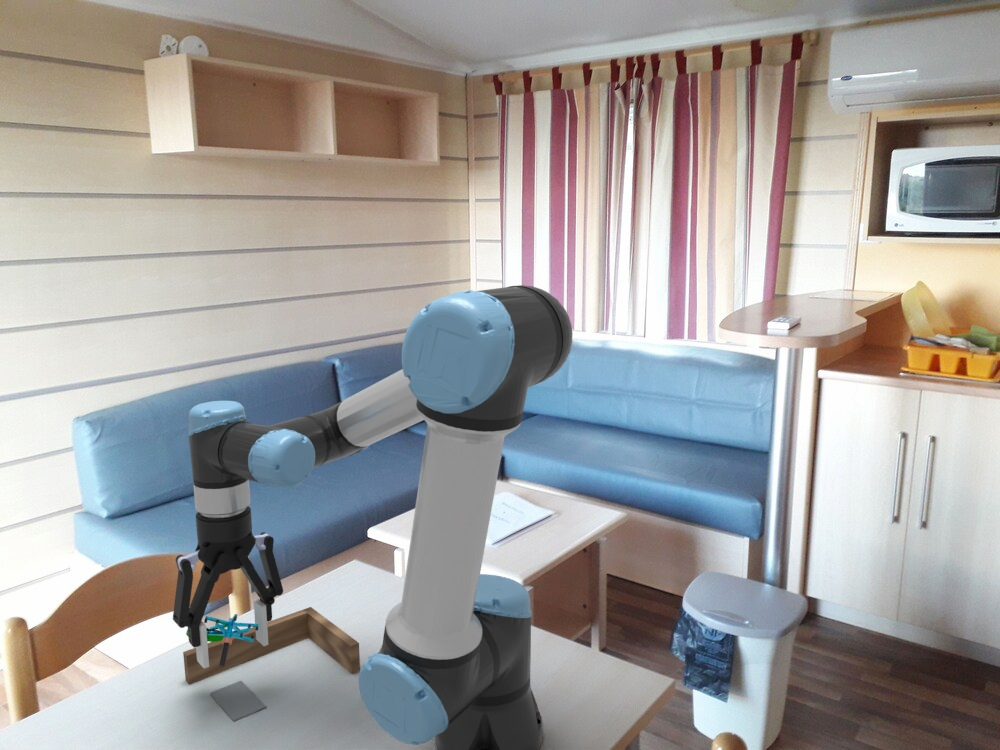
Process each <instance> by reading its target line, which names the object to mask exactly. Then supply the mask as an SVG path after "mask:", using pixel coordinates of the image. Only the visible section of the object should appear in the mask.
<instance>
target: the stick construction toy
mask: <svg viewBox="0 0 1000 750" xmlns="http://www.w3.org/2000/svg"><path fill="white" fill-rule="evenodd" d="M204 617H205V618H204V622H203V623H204V624H207V623H208V621H211V622H215V623H214V624H215V625H214V626H211V627H206V631H207V643H210V642H218V641H222V644H223V650H222V655H221V659H220V664H219V667H225V663H226V658H227V653H228V648H229V645H231V644H232V637H233V638H238V639H242V640H246V641H250V642H253V640H254V635H252V636H251V638H248V637H245V636H243V633H244V632H248V631H250V628H252V627H256V628H255V630H256V631H258V627H259V624H255V623H250V622H249V623H248V622H236V621H237V618H238V614H237V613H235V614H234V615H233V616H232V617H230V618H229V619H228V620H224V619H220V618H216V617H214V616H213V617H212V616H209V615H206V616H204ZM239 627H242V628H243V629H242V628H239ZM244 627H245V628H244ZM185 634H186V637H188V628H187V629H186V632H185ZM238 634H240V635H238Z"/></svg>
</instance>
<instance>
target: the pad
mask: <svg viewBox="0 0 1000 750" xmlns="http://www.w3.org/2000/svg"><path fill="white" fill-rule="evenodd" d="M209 695H210V696H211V697H212V698H213V700H214V701H215V702H216V703H217V704H218V705H219V706H220V707H221V709H222V710H223V711H224V712H225V713H226V715H228V717H229V718H230V719H231V720H232V721H233V722H235V721H238V720H241V719H243V718H245V717H247V716H250V715H253V714H255V713H257V712H260V711H262V710H264V709H267V706H266V704H265V703H264V702H263V701H262V700H261V699H260V698H259V697H258V696H257V695H256V694H255V693H254V692H253V691H252V690H251V689H250V687H248V685H246V684H245V683H244V682H243V681H242V680H239V681H236V682H234V683H231V684H229V685H226V686H223V687H222V688H219V689H216V690H213V691H211V692H209Z"/></svg>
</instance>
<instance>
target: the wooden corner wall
mask: <svg viewBox="0 0 1000 750" xmlns="http://www.w3.org/2000/svg"><path fill="white" fill-rule="evenodd" d="M267 629H268V645H266V646H263V645H262V644H261V643H260V642H258V641H257V640H256V630H255V627H251V628H250V631H248V632H244V633H243V636H245V637H248V638H251V636H252V635H254V640H253V642H250V641H246V640H242V639H238V638H233V637H232V644H231V645H229V648H228V653H227V658H226V663H225V667H219V664H220V659H221V655H222V650H223V644H222V641H218V642H207V644H208V657H209V667H207V668H205V669H204V668H203V667H202V666H201V665H200V664H199V662H198V661H197V654H196V647H195V648H194V647H193V648H190V649H188V650H185V651H183V653H182V655H183V665H184V677H185V682H186V683H187V684H188V685H189V686H190V685H192V684H196V683H198V682H201V681H203V680H205V679H208V678H211V677H213V676H215V675H218V674H221V673H224V672H226V671H227V670H228V671H229V670H231V669H233V668H236V667H238V666H240V665H243V664H246V663H249V662H251V661H253V660H256V659H258V658H261V657H263V656H266V655H268V654H271V653H274V652H277V651H278V650H279V651H280V650H281V649H284V648H286V647H289V646H291V645H294V644H297V643H299V642H301V641H304V640H307V639H309V640H310V641H311V642H313V643H314V644H315V645H316V646H317V647H318V648H320V649H321V650H322V651H324V652H325V653H326V654H327V655H328V656H329V657H331V658H332V660H334V661H335V662H336V663H338V664H339V665H340V666H341V667H342V668H344V669H345V670H346V671H348V672H349V673H350V674H351V675H355V674H356V673H358V672H360V670H361V662H360V661H361V657H360V642H358V640H356V639H354V638H353V637H351V636H350V635H349V634H347V632H345V630H344V631H343V630H342V629H341V628H340V627H338V626H337V624H334V623H333V622H331V620H329V619H328V618H326V617H325V616H324V615H322V614H321V613H320V612H318V611H317V610H316V609H314V608H313V607H312V606H310V607H309V606H308V607H305V608H303V609H301V610H298V611H295V612H293V613H292V612H291V613H289V614H286V615H284V616H281V617H279V618H275V619H273V620H271V621H269V622H267ZM238 635H240V634H238Z"/></svg>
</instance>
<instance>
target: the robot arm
mask: <svg viewBox="0 0 1000 750" xmlns="http://www.w3.org/2000/svg"><path fill="white" fill-rule="evenodd" d="M569 316H570V315H569V314H568V312H567V310H566V308H565V307H564V306H563V304H562V303H561V302H560V301H559V300H558V298H556V297H555V296H553V295H552V294H551V293H549V292H548V291H546V290H544V289H542V288H539V287H536V286H532V285H524V284H522V285H511V286H505V287H499V288H490V289H489V288H488V289H482V290H472V289H469V290H463V291H462V290H461V291H457V292H454V293H451V294H448V295H447V296H443V297H440V298H437V299H435V300H433V301H431V302H429V303H428V304H427V305H425V306H424V307H423V308H422V309H420V311H418V313H417V314H416V315H415V316H414V317H413V319H412V320H411V322H410V323H409V326H408V327H407V330H406V332H405V334H404V338H403V342H402V346H401V367H402V369H400V370H398V371H396V372H394V373H392V374H391V375H389V376H386V377H385V378H383V379H381V380H379V381H377V382H375V383H374V384H372V385H370V386H368V387H366V388H364V389H362V390H361V391H358V392H357V393H355V394H353V395H350V396H349V397H347V398H345V399H344V400H342V401H340V402H338V403H336V404H334V405H331V406H330V407H328V408H326V409H323V410H320V411H317V412H313V413H311V414H308V415H303V416H300V417H295V418H293V419H288V420H285V421H281V422H278V423H275V424H271V425H269V424H268V425H263V424H255V423H252V422H249V421H246V420H247V416H246V413H245V411H246V410H245V407H244V406H243V405H242V404H241V403H240V402H238V401H234V400H214V401H213V400H212V401H207V402H206V401H205V402H202V403H198V404H197V405H194V406H193V407H192V408H191V409H190V410H189V413H188V434H187V437H188V440H189V441H188V442H189V451H190V462H191V463H190V464H191V473H192V480H193V481H192V483H193V496H194V497H193V498H194V506H195V511H196V514H195V525H196V537H197V545H196V548H195V550H194V551H193V552H192V553H189V554H187V555H182V554H179V555H177V556H176V558H175V563H176V564H175V565H176V567H177V570H178V572H177V580H176V581H177V582H176V589H175V596H174V597H175V598H174V605H173V613H172V621H173V622H174V623H175V624H176V625H177V626H178V627H179V628H181V629H184V628H186V627H187V629H188V636H187V637H188V643H189V644H190V645H191V647H193V648H196V654H197V661H198V662H199V664H200V665H201V666H202V667H203V668H204V669H205V668H207V667H209V657H208V644H207V643H208V642H207V631H206V628H207V625H206V623H204V622H203V618H204V614H205V612H206V609H207V607H208V604H209V601H210V598H211V595H212V593H213V590H214V587H215V585H216V583H217V582H218V581H219V579H220V576H221V575H222V574H226V573H227V572H230V571H235V570H236V571H237V570H239V569H240V570H241V571H242V573H243V574H244V576H245V578H246V580H247V581H248V582H249V584H250V586H251V587H252V589H253V590H254V591H255V594H256V595H257V596H258V598H256V599H253V614H254V624H259V627H258V631H256V640H257V641H258V642H260V643H261V644H262V645H263V646H266V645H268V629H267V622H269V621H272V619H273V610H272V609H273V607H272V605H274V604H275V601H276V600H275V597H277V596H282V595H283V593H284V588H283V585H282V581H281V576H280V573H279V569H278V566H277V562H276V558H275V554H274V551H273V549H274V543H275V541H274V540H275V539H274V537H273V536H271V535H270V534H268V533H266V532H265V531H263V532H261V533H260V534H259V535H254V534H253V525H252V524H253V522H252V509H251V507H250V506H249V505H251V491H250V481H253V482H256V483H258V484H261V485H265V486H267V487H272V488H281V489H282V488H283V489H291V488H293V489H294V488H295V487H299V486H301V485H302V484H303V483H304V481H305V479H307V478H308V477H309V476H310V475H311V474H312V471H313V469H316V468H317V467H320V466H322V465H326V464H329V463H331V462H335V461H337V460H340V459H344V458H346V457H351V456H354V455H356V454H359V453H361V452H362V451H364V450H367V449H368V448H369V447H370V446H371V445H373V444H375V443H377V442H379V441H381V440H384V439H385V438H387V437H389V436H392V435H395V434H396V433H399V432H401V431H403V430H405V429H407V428H410V427H412V426H413V425H416V424H419V423H420V422H422V421H424V422H426V424H427V426H426V430H425V432H426V433H425V437H424V438H425V440H424V445H423V452H422V459H421V466H420V473H419V480H418V487H417V495H416V500H415V505H414V506H415V508H414V514H413V522H412V528H411V535H410V541H409V542H410V543H409V549H408V555H407V563H406V569H405V576H404V583H403V591H402V595H401V596H402V597H401V602H399V603H397V604H396V605H394V606H393V607H392V608H391V609H390V610H389V612H388V614H387V616H386V619H385V624H384V631H383V638H382V639H383V640H382V645H381V647H380V649H379V651H378V652H377V653H373V654H371V655H370V656H368V658H367V660H366V661H364V663H363V664H362V665H361V666H360V671H359V673H358V688H359V693H360V697H361V700H362V702H363V704H364V707H365V708H366V711H368V713H369V714H370V716H371V719H372V720H373V721H374V722H375V723H376V724H377V725H378V727H379V728H380V729H381V730H382V731H384V733H385V734H387V735H388V736H390V737H392V739H394V740H396V741H398V742H400V743H403V744H406V745H412V746H417V745H420V744H421V745H422V744H426V743H428V742H429V741H431V740H433V738H434V742H435V743H434V744H435V746H436V749H437V750H540V748H541V746H542V743H543V739H544V737H543V733H544V732H543V731H544V727H543V726H544V725H543V718H542V715H541V712H540V710H539V707H538V704H537V701H536V698H535V695H534V692H533V689H532V686H531V656H532V655H531V653H532V652H531V650H532V649H531V647H532V643H531V642H532V641H531V639H532V637H531V636H532V635H531V634H532V633H531V632H532V617H533V611H532V610H531V595H530V593H529V591H528V590H527V589H526V586H524V585H523V584H522V583H520V582H518V581H516V580H514V579H511V578H510V577H509V578H508V577H505V576H501V575H497V574H496V575H495V574H488V573H487V574H486V573H484V574H482V573H481V570H482V564H483V559H484V554H485V547H486V543H487V538H488V537H487V536H488V532H489V531H488V530H489V525H490V521H491V515H492V510H493V509H492V508H493V504H494V498H495V492H496V487H497V482H498V475H499V470H500V464H501V458H502V453H503V449H504V448H503V447H504V442H505V437H506V436H507V435H509V434H510V433H512V432H514V431H516V430H517V429H519V427H520V426H521V424H522V420H523V416H524V410H525V404H526V400H527V399H526V398H527V395H528V394H527V393H528V388H531V387H533V386H535V385H537V384H540V383H542V382H544V381H547V380H548V379H549V378H551V377H553V376H554V375H555V374H557V372H558V371H560V369H562V367H563V365H565V363H566V361H568V358H569V355H570V353H571V349H572V346H573V326H572V322H571V319H570V317H569ZM254 547H256V549H258V553H259V557H260V560H261V563H262V568H263V572H264V575H265V578H266V581H267V586H268V587H266V585H265V583H264V582H263V580H262V578H261V577H260V575H259V574H258V572H257V570H256V568H255V566H254V564H253V563H252V561H251V560H250V558H249V556H250V554H251V553H252V550H253V549H254ZM198 561H200V562H201V563H203V564H202V568H201V570H200V578H199V581H198V583H197V586H196V589H195V592H194V595H193V598H192V600H191V597H192V588H193V581H194V572H193V571H195V570H196V566H197V565H196V564H197V562H198ZM255 628H256V627H255Z"/></svg>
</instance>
